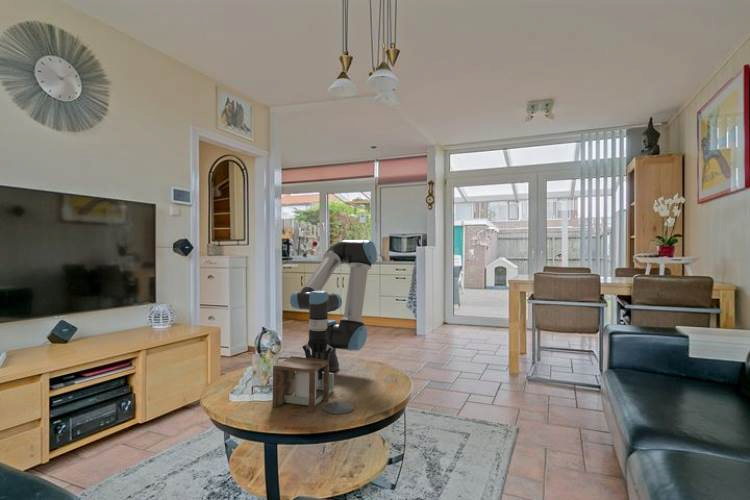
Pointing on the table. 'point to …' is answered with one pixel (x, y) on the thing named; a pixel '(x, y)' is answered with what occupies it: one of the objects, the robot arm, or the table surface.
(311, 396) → the wooden step stool
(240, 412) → the table surface
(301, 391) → the beverage can
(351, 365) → the table surface
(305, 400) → the grey blocky pieces
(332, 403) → the coaster
